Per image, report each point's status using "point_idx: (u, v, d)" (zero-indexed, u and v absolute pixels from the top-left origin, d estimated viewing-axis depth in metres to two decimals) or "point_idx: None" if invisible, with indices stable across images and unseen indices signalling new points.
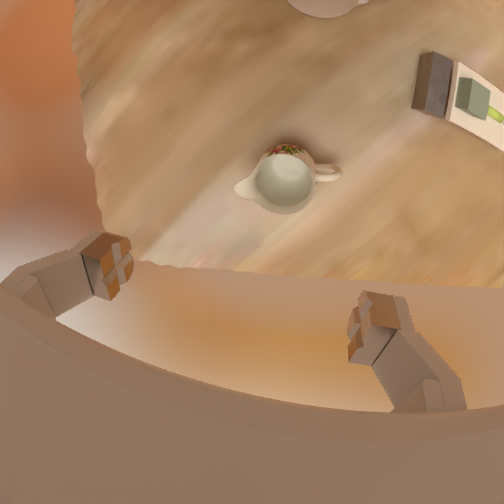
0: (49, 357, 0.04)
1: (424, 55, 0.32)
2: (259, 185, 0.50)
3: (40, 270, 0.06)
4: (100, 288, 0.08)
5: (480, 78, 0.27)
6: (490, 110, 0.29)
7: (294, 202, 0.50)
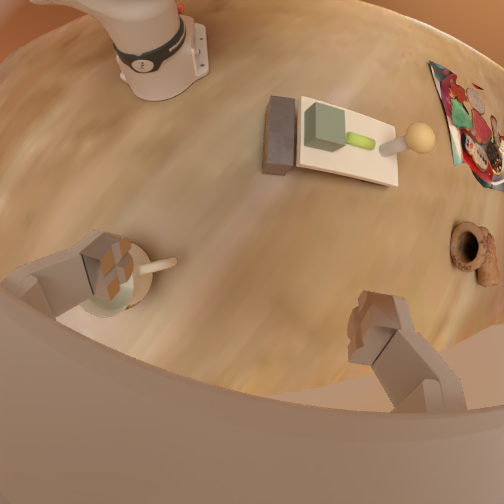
0: (49, 357, 0.04)
1: (267, 108, 0.44)
2: None
3: (40, 270, 0.06)
4: (100, 288, 0.08)
5: (334, 107, 0.40)
6: (353, 136, 0.39)
7: None
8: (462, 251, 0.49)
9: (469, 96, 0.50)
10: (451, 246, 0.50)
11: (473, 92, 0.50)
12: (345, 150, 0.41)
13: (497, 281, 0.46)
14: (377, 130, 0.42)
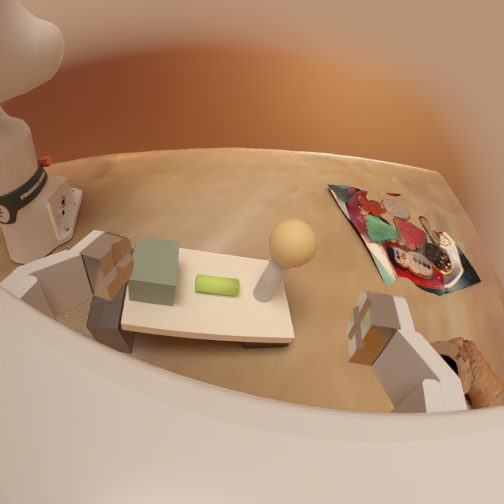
0: (49, 357, 0.04)
1: None
2: None
3: (40, 270, 0.06)
4: (100, 288, 0.08)
5: (181, 251, 0.35)
6: (201, 278, 0.31)
7: None
8: None
9: (387, 206, 0.65)
10: None
11: (390, 201, 0.68)
12: (194, 302, 0.31)
13: (501, 388, 0.26)
14: (249, 270, 0.37)
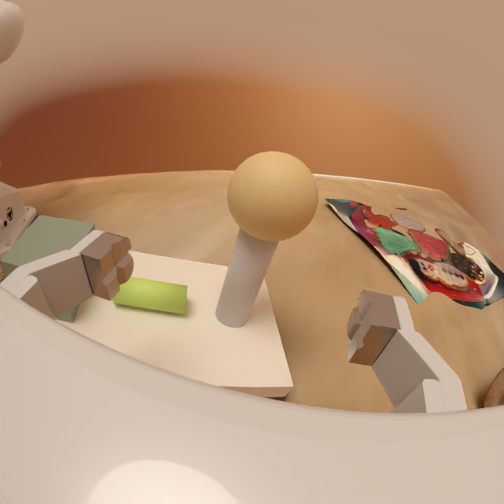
0: (49, 357, 0.04)
1: None
2: None
3: (40, 270, 0.06)
4: (100, 288, 0.08)
5: None
6: None
7: None
8: None
9: (397, 219, 0.54)
10: None
11: (400, 214, 0.57)
12: (109, 320, 0.16)
13: None
14: (213, 280, 0.23)
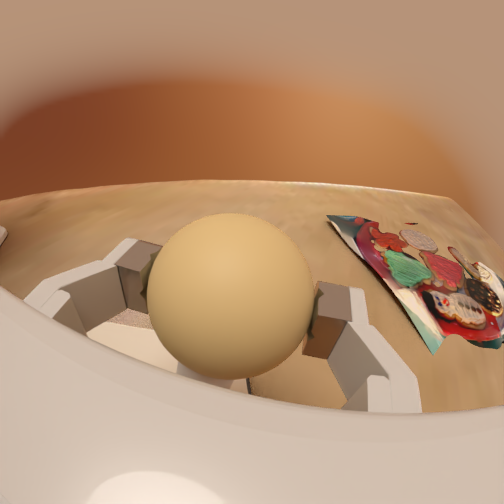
0: (49, 357, 0.04)
1: None
2: None
3: (71, 284, 0.06)
4: (136, 301, 0.08)
5: None
6: None
7: None
8: None
9: (407, 238, 0.47)
10: None
11: (410, 231, 0.50)
12: None
13: None
14: (172, 360, 0.16)
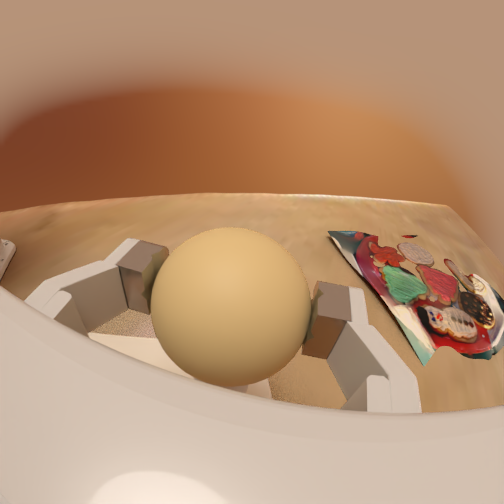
0: (49, 357, 0.04)
1: None
2: None
3: (72, 284, 0.06)
4: (138, 301, 0.08)
5: None
6: None
7: None
8: None
9: (405, 252, 0.49)
10: None
11: (408, 245, 0.52)
12: None
13: None
14: None
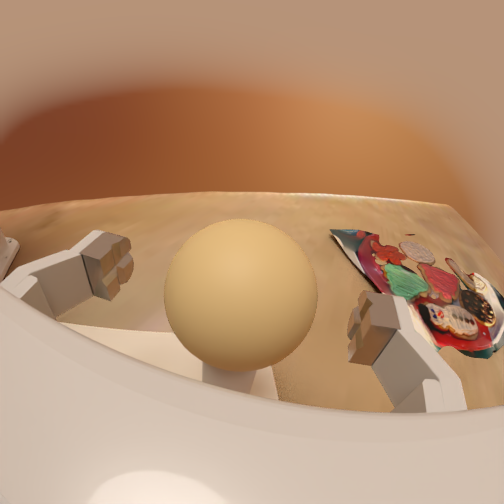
0: (49, 357, 0.04)
1: None
2: None
3: (40, 270, 0.06)
4: (100, 288, 0.08)
5: (79, 330, 0.17)
6: None
7: None
8: None
9: (407, 250, 0.49)
10: None
11: (409, 243, 0.52)
12: None
13: None
14: (200, 360, 0.17)
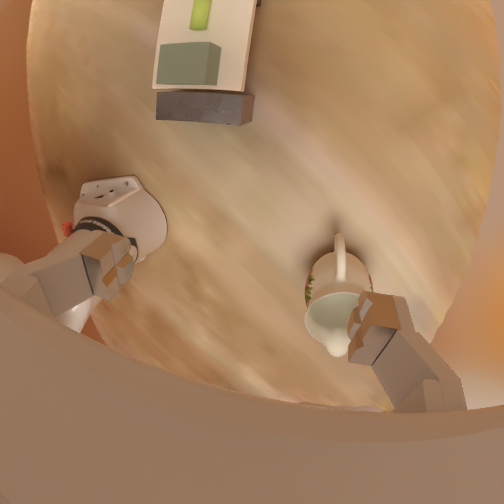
0: (49, 357, 0.04)
1: None
2: (347, 316, 0.44)
3: (40, 270, 0.06)
4: (100, 288, 0.08)
5: (159, 46, 0.26)
6: (195, 24, 0.23)
7: None
8: None
9: None
10: None
11: None
12: (217, 30, 0.24)
13: None
14: None
